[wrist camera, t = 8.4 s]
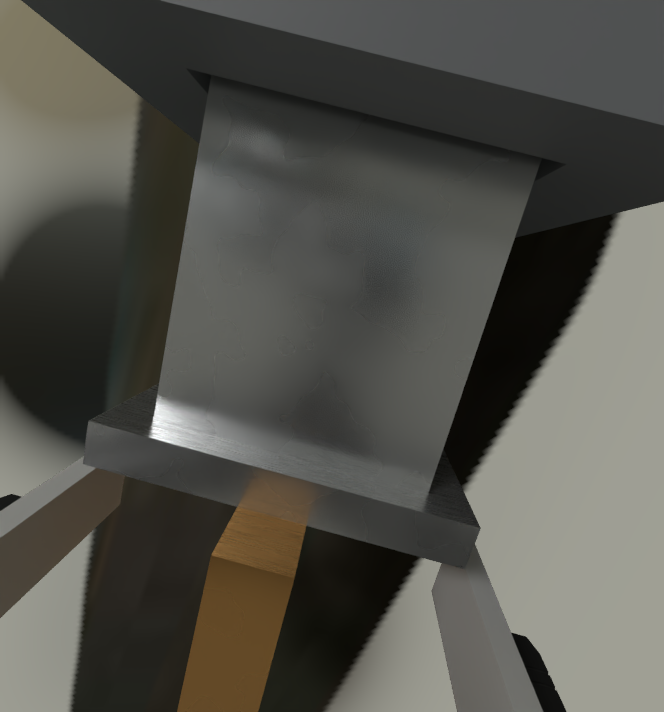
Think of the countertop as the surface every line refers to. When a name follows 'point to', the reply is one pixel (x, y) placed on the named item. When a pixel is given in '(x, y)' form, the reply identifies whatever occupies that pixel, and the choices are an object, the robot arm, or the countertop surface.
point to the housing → (421, 76)
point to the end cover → (316, 352)
